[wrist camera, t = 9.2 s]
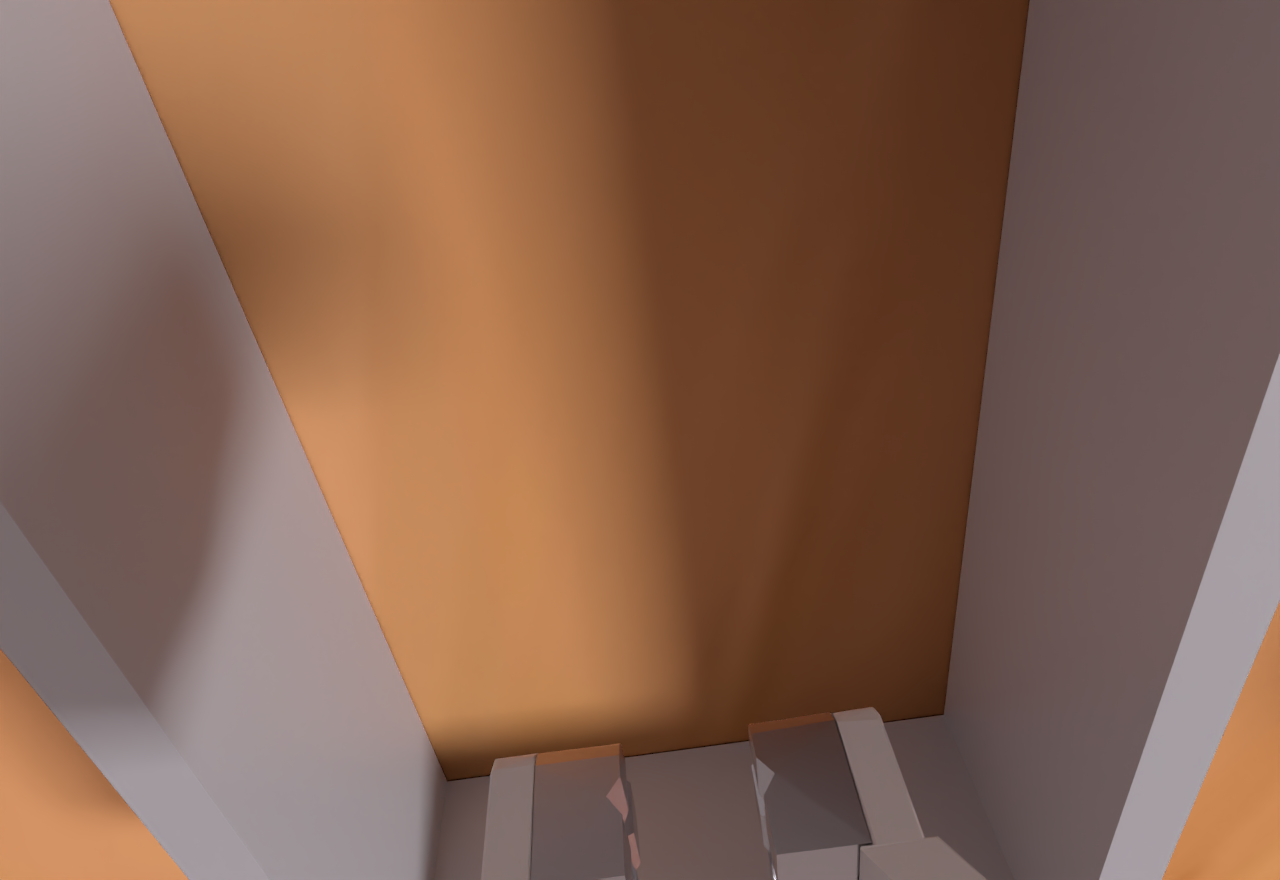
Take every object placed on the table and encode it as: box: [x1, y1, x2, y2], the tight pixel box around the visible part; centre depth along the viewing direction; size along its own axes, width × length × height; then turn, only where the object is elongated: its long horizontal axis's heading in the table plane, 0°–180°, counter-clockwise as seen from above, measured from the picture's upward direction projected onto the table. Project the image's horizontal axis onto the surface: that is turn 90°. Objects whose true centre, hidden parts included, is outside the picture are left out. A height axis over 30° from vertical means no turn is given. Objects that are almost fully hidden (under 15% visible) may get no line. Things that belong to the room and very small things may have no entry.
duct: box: [0, 0, 1280, 880], centre depth 14 cm, size 26×16×7 cm, turn 7°
